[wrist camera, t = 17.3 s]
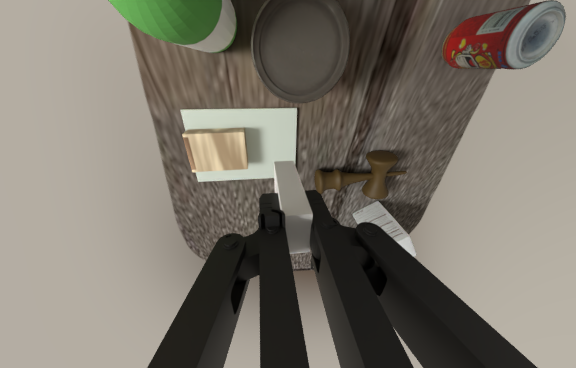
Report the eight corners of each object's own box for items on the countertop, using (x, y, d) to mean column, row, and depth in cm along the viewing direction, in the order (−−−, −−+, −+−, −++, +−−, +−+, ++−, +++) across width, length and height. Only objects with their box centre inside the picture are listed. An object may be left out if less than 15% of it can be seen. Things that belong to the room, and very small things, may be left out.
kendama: (312, 155, 43) (403, 146, 44) (312, 192, 48) (394, 183, 49) (319, 168, 38) (422, 157, 39) (318, 208, 43) (409, 198, 44)
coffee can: (318, 14, 31) (357, -19, 19) (315, 89, 36) (345, 101, 24) (249, 15, 30) (243, -19, 18) (257, 92, 35) (256, 106, 23)
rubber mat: (296, 107, 37) (297, 108, 37) (294, 175, 44) (295, 176, 44) (181, 109, 35) (180, 109, 34) (198, 180, 42) (198, 181, 41)
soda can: (429, 55, 36) (501, 51, 25) (461, 9, 33) (557, -18, 22) (454, 75, 38) (530, 79, 27) (486, 34, 35) (584, 20, 24)
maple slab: (243, 132, 35) (182, 134, 34) (247, 169, 38) (192, 172, 37) (244, 127, 37) (187, 129, 36) (248, 162, 41) (196, 165, 40)
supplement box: (386, 218, 54) (418, 256, 43) (360, 230, 55) (385, 270, 45) (378, 199, 51) (411, 235, 40) (351, 213, 52) (375, 252, 41)
